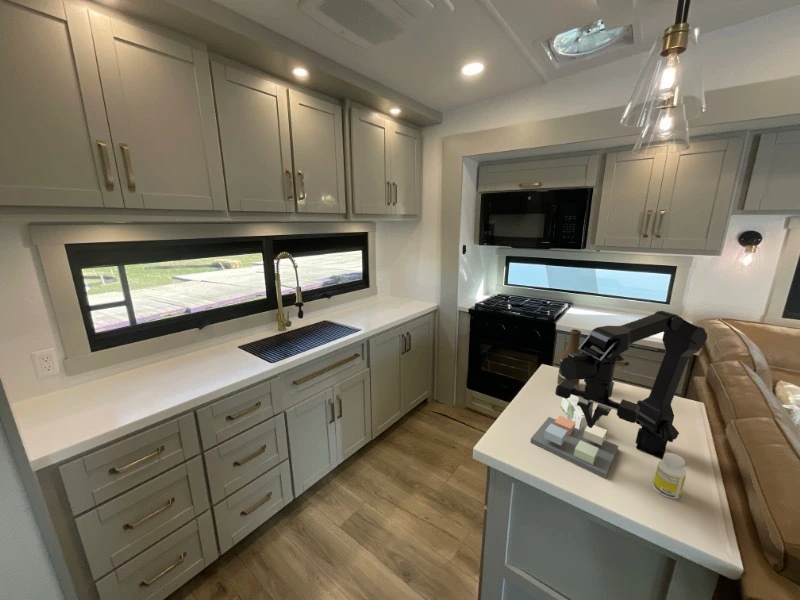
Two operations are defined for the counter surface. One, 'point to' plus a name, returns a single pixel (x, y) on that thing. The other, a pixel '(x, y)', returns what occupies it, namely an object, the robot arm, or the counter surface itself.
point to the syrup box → (575, 412)
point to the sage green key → (586, 452)
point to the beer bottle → (571, 348)
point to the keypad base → (569, 445)
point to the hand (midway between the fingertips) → (590, 426)
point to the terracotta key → (565, 424)
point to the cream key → (595, 434)
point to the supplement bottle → (670, 476)
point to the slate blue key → (555, 434)
